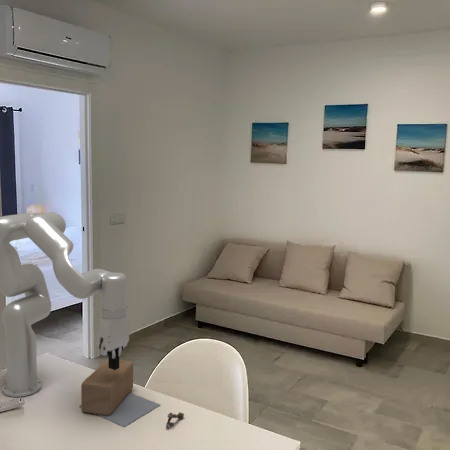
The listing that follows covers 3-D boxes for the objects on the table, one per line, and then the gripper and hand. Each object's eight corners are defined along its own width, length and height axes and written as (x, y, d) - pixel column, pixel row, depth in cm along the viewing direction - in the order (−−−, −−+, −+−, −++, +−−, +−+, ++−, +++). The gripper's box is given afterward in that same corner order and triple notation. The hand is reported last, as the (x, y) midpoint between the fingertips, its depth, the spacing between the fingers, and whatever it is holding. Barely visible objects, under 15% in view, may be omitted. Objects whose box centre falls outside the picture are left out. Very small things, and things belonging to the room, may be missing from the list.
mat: (79, 406, 162) (79, 406, 161) (116, 387, 175) (116, 387, 175) (124, 427, 151) (124, 426, 151) (160, 405, 164) (160, 404, 164)
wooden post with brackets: (162, 427, 150) (166, 412, 151) (176, 426, 157) (179, 411, 158) (167, 429, 149) (171, 413, 150) (180, 428, 156) (184, 413, 157)
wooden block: (109, 386, 154) (134, 360, 173) (80, 382, 156) (107, 357, 175) (109, 417, 156) (134, 388, 175) (80, 412, 157) (107, 384, 177)
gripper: (122, 304, 164) (122, 357, 167) (87, 316, 152) (87, 373, 154) (139, 309, 160) (139, 363, 163) (104, 321, 148) (104, 380, 150)
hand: (113, 368), depth 158 cm, fingers closed
